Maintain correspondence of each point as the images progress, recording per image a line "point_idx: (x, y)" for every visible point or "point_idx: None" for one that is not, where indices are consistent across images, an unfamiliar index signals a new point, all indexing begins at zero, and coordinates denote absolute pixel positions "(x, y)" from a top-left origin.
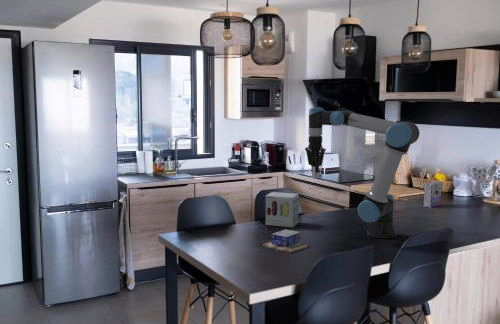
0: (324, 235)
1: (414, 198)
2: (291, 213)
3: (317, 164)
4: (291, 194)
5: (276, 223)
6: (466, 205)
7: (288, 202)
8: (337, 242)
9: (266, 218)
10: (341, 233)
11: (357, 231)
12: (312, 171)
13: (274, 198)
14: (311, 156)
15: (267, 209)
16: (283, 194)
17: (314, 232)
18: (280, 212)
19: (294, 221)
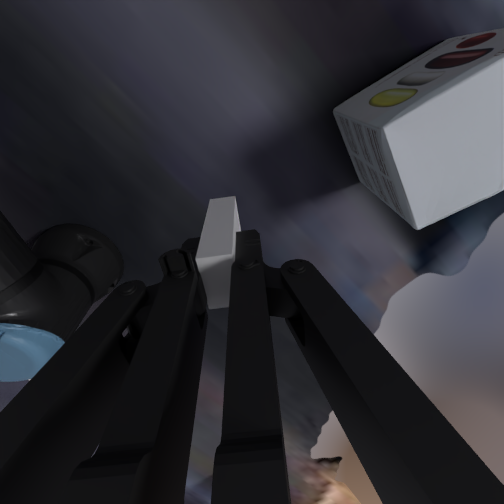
0: (167, 118)
1: (301, 489)
2: (356, 112)
3: (143, 289)
4: (440, 190)
5: (402, 66)
6: (202, 499)
7: (393, 107)
8: (58, 78)
9: (463, 36)
10: (158, 187)
11: (153, 242)
12: (245, 232)
13: (496, 53)
14: (266, 378)
15: (491, 33)
16: (484, 156)
17: (222, 121)
18: (410, 80)
19: (345, 133)
